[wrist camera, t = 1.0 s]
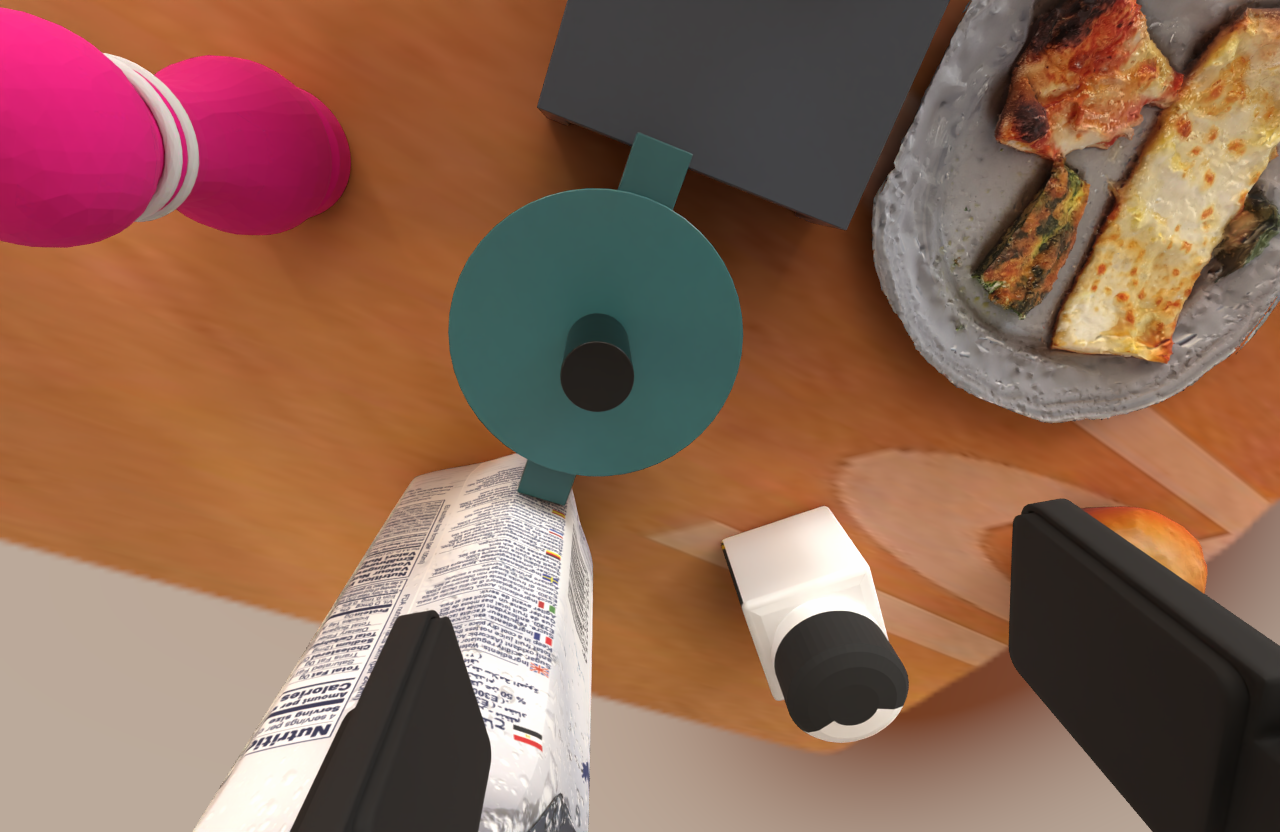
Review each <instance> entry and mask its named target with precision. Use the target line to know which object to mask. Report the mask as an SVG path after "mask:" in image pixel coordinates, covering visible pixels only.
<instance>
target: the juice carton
mask: <svg viewBox="0 0 1280 832" xmlns="http://www.w3.org/2000/svg"><path fill="white" fill-rule="evenodd" d="M526 461H527V459H526V458H524V457H522V456H520V455H519V454H517V453H515V454H512V455H508V456H505V457H501V458H498V459H494V460H490V461H487V462H482V463H477V464H472V465H467V466H461V467H455V468H449V469H444V470H439V471H435V472H431V473H427V474H423V475H419V476H417V477H415V478H414V479H413V480H412V482H411V483H410V484H409V486H408V487H407V489H406V490H405V492H404V493H403V495H402V497H401V498H400V500H399V501H398V503H397V504H396V506H395V507H394V509H393V511H392V512H391V514H390V515H389V517H388V518H387V520H386V522H385V523H384V525H383V526H382V528H381V530H380V531H379V533H378V534H377V536H376V538H375V539H374V541H373V542H372V544H371V546H370V547H369V549H368V550H367V552H366V554H365V555H364V557H363V558H362V560H361V562H360V563H359V565H358V566H357V568H356V570H355V571H354V573H353V574H352V576H351V578H350V579H349V581H348V582H347V584H346V586H345V587H344V589H343V590H342V592H341V594H340V595H339V597H338V598H337V600H336V602H335V603H334V605H333V607H332V608H331V610H330V611H329V613H328V615H327V616H326V618H325V619H324V621H323V623H322V624H321V626H320V627H319V629H318V631H317V632H316V634H315V635H314V637H313V639H312V640H311V642H310V643H309V645H308V647H307V648H306V650H305V651H304V653H303V655H302V656H301V658H300V660H299V661H298V663H297V664H296V666H295V667H294V669H293V671H292V672H291V674H290V676H289V677H288V679H287V680H286V682H285V684H284V685H283V687H282V688H281V690H280V692H279V693H278V695H277V696H276V698H275V700H274V701H273V703H272V704H271V706H270V708H269V709H268V711H267V713H266V714H265V716H264V717H263V719H262V720H261V722H260V724H259V725H258V727H257V728H256V730H255V732H254V733H253V735H252V737H251V738H250V740H249V741H248V743H247V745H246V746H245V748H244V749H243V751H242V753H241V754H240V756H239V758H238V759H237V761H236V762H235V764H234V766H233V767H232V769H231V770H230V772H229V774H228V775H227V777H226V778H225V780H224V781H223V783H222V785H221V786H220V788H219V790H218V791H217V793H216V795H215V796H214V798H213V799H212V801H211V802H210V804H209V806H208V807H207V809H206V811H205V812H204V814H203V816H202V817H201V819H200V820H199V822H198V823H197V825H196V827H195V828H194V830H193V831H192V832H290V830H291V828H292V826H293V824H294V821H295V819H296V817H297V815H298V813H299V811H300V809H301V807H302V805H303V802H304V800H305V798H306V796H307V794H308V792H309V790H310V788H311V786H312V784H313V781H314V779H315V777H316V775H317V773H318V771H319V769H320V767H321V765H322V762H323V760H324V758H325V756H326V754H327V752H328V750H329V748H330V746H331V743H332V741H333V739H334V737H335V735H336V733H337V731H338V729H339V727H340V725H341V722H342V721H343V719H344V717H345V716H346V714H347V713H348V712H349V711H351V710H352V709H353V708H355V707H356V704H357V702H358V700H359V698H360V696H361V694H362V692H363V689H364V687H365V685H366V683H367V681H368V679H369V676H370V674H371V672H372V670H373V668H374V666H375V663H376V661H377V659H378V657H379V655H380V653H381V650H382V648H383V646H384V644H385V642H386V640H387V637H388V635H389V633H390V631H391V629H392V627H393V624H394V622H395V620H396V619H397V617H399V616H401V615H406V614H412V613H417V612H423V611H429V610H435V611H436V612H437V613H438V614H439V617H440V618H441V617H449V619H450V620H451V623H452V625H453V628H454V631H455V634H456V637H457V641H458V644H459V647H460V650H461V653H462V656H463V659H464V662H465V665H466V668H467V671H468V674H469V677H470V681H471V684H472V687H473V690H474V693H475V696H476V699H477V702H478V705H479V708H480V711H481V714H482V717H483V720H484V724H485V727H486V730H487V733H488V736H489V739H490V744H491V766H490V771H489V777H488V782H487V787H486V793H485V798H484V804H483V809H482V814H481V820H480V825H479V830H478V832H588V825H589V824H588V823H589V781H590V778H589V777H590V728H591V727H590V726H591V723H590V722H591V673H592V615H593V563H592V557H591V553H590V549H589V546H588V543H587V540H586V537H585V535H584V532H583V529H582V527H581V524H580V520H579V516H578V512H577V507H576V502H575V498H574V494H573V490H572V488H571V491H570V494H569V496H568V499H567V502H566V504H565V505H564V506H563V505H560V504H556V503H553V502H550V501H546V500H543V499H539V498H536V497H533V496H529V495H526V494H522V493H519V492H518V491H517V490H518V486H519V482H520V479H521V476H522V473H523V470H524V467H525V464H526Z"/></svg>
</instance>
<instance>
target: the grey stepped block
mask: <svg viewBox="0 0 1280 832" xmlns="http://www.w3.org/2000/svg"><path fill="white" fill-rule="evenodd" d="M949 1H950V0H568V1H567V4H566V8H565V11H564V15H563V18H562V22H561V25H560V29H559V32H558V36H557V39H556V43H555V46H554V49H553V53H552V56H551V60H550V63H549V67H548V70H547V74H546V77H545V81H544V84H543V88H542V91H541V95H540V98H539V102H538V105H537V108H538V109H539V110H540V111H541V112H542V113H543V114H544V115H545V116H546V117H547V118H549V119H551V120H554V121H556V122H559V123H561V124H564V125H566V126H569V123H573V124H575V125H578V126H580V127H583V128H585V129H588V130H590V131H593V132H595V133H598V134H601V135H603V136H606V137H608V138H611V139H613V140H616V141H618V142H621V143H623V144H626V145H628V146H631V147H632V145H633V142H634V139H635V136H636V134H637V133H642V134H644V135H647V136H649V137H652V138H654V139H657V140H659V141H662V142H664V143H667V144H669V145H672V146H674V147H676V148H679V149H681V150H684V151H686V152H689V153H691V154H692V155H693V156H692V159H691V162H690V164H689V167H688V169H689V170H691V171H694V172H696V173H699V174H701V175H704V176H706V177H709V178H711V179H714V180H716V181H719V182H721V183H724V184H726V185H729V186H731V187H734V188H736V189H739V190H741V191H744V192H746V193H749V194H752V195H754V196H757V197H759V198H762V199H764V200H767V201H769V202H772V203H774V204H777V205H779V206H782V207H784V208H787V209H789V210H792V211H794V212H796V213H795V216H796V217H799V218H801V219H804V220H806V221H809V222H811V223H815V224H819V225H824V226H828V227H833V228H837V229H841V230H847V228H848V226H849V223H850V221H851V219H852V217H853V214H854V212H855V210H856V208H857V206H858V203H859V201H860V199H861V197H862V194H863V192H864V190H865V188H866V186H867V183H868V181H869V179H870V177H871V174H872V172H873V170H874V168H875V166H876V163H877V161H878V159H879V157H880V154H881V152H882V150H883V148H884V145H885V143H886V141H887V139H888V137H889V134H890V132H891V130H892V128H893V125H894V123H895V121H896V119H897V117H898V114H899V112H900V110H901V108H902V105H903V103H904V101H905V99H906V97H907V94H908V92H909V90H910V88H911V85H912V83H913V81H914V79H915V77H916V74H917V72H918V70H919V68H920V65H921V63H922V61H923V59H924V57H925V54H926V52H927V50H928V48H929V45H930V43H931V41H932V39H933V37H934V34H935V32H936V30H937V28H938V25H939V23H940V21H941V19H942V16H943V14H944V12H945V10H946V8H947V5H948V3H949Z"/></svg>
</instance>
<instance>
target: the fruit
mask: <svg viewBox="0 0 1280 832" xmlns="http://www.w3.org/2000/svg"><path fill="white" fill-rule="evenodd" d="M1082 510H1084V511H1085V512H1087V513H1088V514H1089V515H1091V516H1092V517H1094V518H1095V519H1097V520H1098V521H1100V522H1101V523H1102V524H1104V525H1105V526H1107V527H1108V528H1110V529H1111V530H1113V531H1114V532H1115V533H1117V534H1118V535H1120V536H1121V537H1123V538H1124V539H1126V540H1127V541H1128V542H1130V543H1131V544H1133V545H1134V546H1136V547H1137V548H1139V549H1140V550H1142V551H1143V552H1144V553H1146V554H1147V555H1149V556H1150V557H1152V558H1153V559H1155V560H1156V561H1157V562H1159V563H1160V564H1162V565H1163V566H1165V567H1166V568H1168V569H1169V570H1170V571H1172V572H1173V573H1175V574H1176V575H1178V576H1179V577H1181V578H1182V579H1183V580H1185V581H1186V582H1188V583H1189V584H1191V585H1192V586H1194V587H1195V588H1197V589H1198V590H1199V591H1201V592H1202V593H1204V594H1205V587H1206V579H1207V565H1206V563H1205V560H1204V557H1203V552H1202V547H1201V545H1200V543H1199V542H1198V540H1197V539H1195V538H1194V537H1193V536H1192V535H1191V534H1190V533H1189V532H1188V531H1187V530H1186V529H1185V528H1184V527H1183V526H1181V525H1180V524H1178V523H1176V522H1174V521H1172V520H1170V519H1169V518H1167V517H1165V516H1163V515H1161V514H1159V513H1157V512H1154V511H1151V510H1148V509H1143V508H1136V507H1097V508H1084V509H1082Z"/></svg>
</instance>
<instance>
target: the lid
mask: <svg viewBox="0 0 1280 832" xmlns="http://www.w3.org/2000/svg"><path fill="white" fill-rule="evenodd" d="M448 334H449V347H450V354H451V359H452V364H453V368H454V372H455V375H456V377H457V380H458V383H459V386H460V388H461V390H462V392H463V394H464V396H465V398H466V400H467V402H468V404H469V405H470V407H471V408H472V410H473V411H474V413H475V414H476V416H477V417H478V419H479V420H480V421H481V422H482V423H483V424H484V425H485V427H486V428H487V429H488V430H489V431H490V432H491V433H492V434H493V435H494V436H495V437H496V438H497V439H499V440H500V441H501V442H502V443H503V444H504V445H506V446H507V447H509V448H510V449H511V450H513V451H514V452H516V453H517V454H519V455H520V456H522V457H524V458H526V459H528V460H530V461H532V462H534V463H536V464H538V465H541V466H544V467H546V468H549V469H552V470H555V471H559V472H564V473H568V474H573V475H582V476H612V475H621V474H626V473H630V472H635V471H639V470H642V469H645V468H648V467H650V466H653V465H655V464H658V463H660V462H662V461H664V460H666V459H668V458H670V457H671V456H673V455H675V454H676V453H678V452H679V451H681V450H682V449H684V448H685V447H687V446H688V445H689V444H690V443H691V442H693V441H694V440H695V439H696V438H697V437H698V436H699V435H700V434H702V433H703V431H704V430H705V429H706V428H707V427H708V426H709V425H710V423H711V422H712V421H713V420H714V419H715V417H716V416H717V414H718V413H719V411H720V410H721V408H722V407H723V405H724V403H725V401H726V399H727V397H728V395H729V393H730V391H731V389H732V387H733V384H734V381H735V378H736V376H737V373H738V369H739V364H740V359H741V354H742V343H743V325H742V314H741V308H740V303H739V298H738V295H737V292H736V289H735V286H734V283H733V280H732V278H731V276H730V274H729V272H728V270H727V268H726V266H725V264H724V262H723V260H722V259H721V257H720V256H719V254H718V253H717V251H716V250H715V248H714V247H713V245H712V244H711V243H710V242H709V241H708V240H707V239H706V238H705V236H704V235H703V234H702V233H701V232H700V231H699V230H698V229H697V228H696V227H694V226H693V225H692V224H691V223H690V222H689V221H687V220H686V219H685V218H684V217H682V216H681V215H679V214H677V213H676V212H674V211H673V210H671V209H670V208H668V207H666V206H664V205H662V204H660V203H658V202H656V201H653V200H651V199H649V198H647V197H643V196H640V195H637V194H634V193H630V192H626V191H620V190H614V189H602V188H585V189H576V190H567V191H564V192H560V193H556V194H552V195H548V196H545V197H543V198H541V199H538V200H536V201H533V202H531V203H529V204H527V205H525V206H523V207H522V208H520V209H518V210H516V211H515V212H513V213H511V214H510V215H509V216H507V217H506V218H505V219H504V220H502V221H501V222H500V223H499V224H497V225H496V226H495V227H494V228H493V229H492V230H491V231H490V232H489V233H488V234H487V235H486V236H485V237H484V238H483V239H482V240H481V241H480V243H479V244H478V246H477V247H476V249H475V250H474V251H473V253H472V254H471V256H470V257H469V259H468V261H467V262H466V264H465V266H464V268H463V270H462V272H461V274H460V276H459V279H458V282H457V285H456V288H455V291H454V294H453V298H452V303H451V308H450V314H449V330H448Z"/></svg>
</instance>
